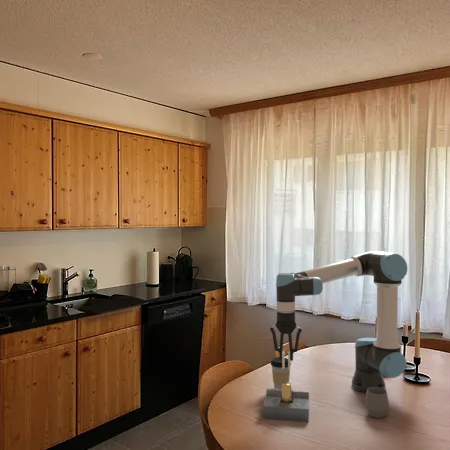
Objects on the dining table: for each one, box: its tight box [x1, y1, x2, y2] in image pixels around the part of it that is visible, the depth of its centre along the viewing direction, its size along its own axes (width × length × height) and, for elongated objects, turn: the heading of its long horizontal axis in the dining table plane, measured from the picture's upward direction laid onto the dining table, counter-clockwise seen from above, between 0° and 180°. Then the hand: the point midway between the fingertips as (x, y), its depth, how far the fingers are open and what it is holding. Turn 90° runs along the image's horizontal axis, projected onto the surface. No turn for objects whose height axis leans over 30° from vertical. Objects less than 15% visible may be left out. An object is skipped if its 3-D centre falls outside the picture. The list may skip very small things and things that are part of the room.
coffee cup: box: [270, 356, 292, 389], centre depth 206 cm, size 9×9×15 cm
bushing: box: [282, 381, 292, 403], centre depth 184 cm, size 4×4×12 cm
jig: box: [262, 387, 310, 423], centre depth 184 cm, size 18×14×7 cm
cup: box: [364, 387, 390, 419], centre depth 181 cm, size 10×9×10 cm
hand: (286, 368), depth 184 cm, fingers open, 2 cm apart
